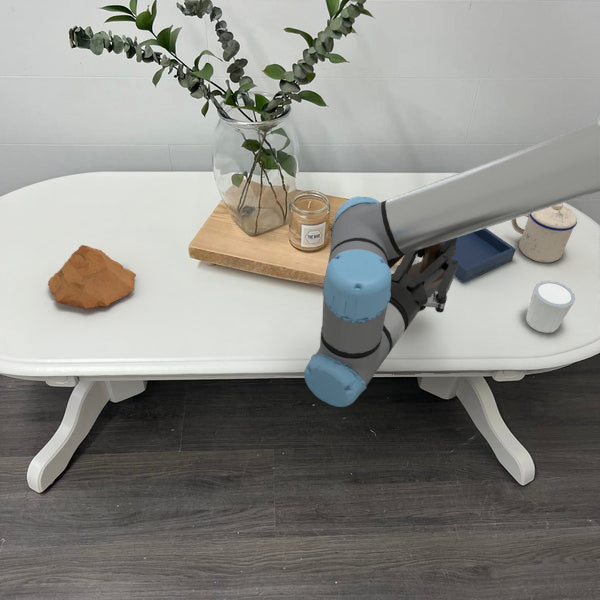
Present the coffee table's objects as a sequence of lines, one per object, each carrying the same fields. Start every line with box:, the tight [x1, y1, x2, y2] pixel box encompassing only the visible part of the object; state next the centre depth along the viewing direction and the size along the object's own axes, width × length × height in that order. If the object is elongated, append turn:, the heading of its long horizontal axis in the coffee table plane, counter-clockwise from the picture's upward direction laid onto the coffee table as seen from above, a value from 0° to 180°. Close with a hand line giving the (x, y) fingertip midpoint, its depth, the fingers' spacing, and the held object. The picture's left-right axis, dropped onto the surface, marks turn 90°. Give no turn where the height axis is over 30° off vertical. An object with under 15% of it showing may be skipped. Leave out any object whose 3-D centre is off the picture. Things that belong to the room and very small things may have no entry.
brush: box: [407, 242, 451, 298], centre depth 92 cm, size 5×7×14 cm
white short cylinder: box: [525, 280, 576, 334], centre depth 101 cm, size 7×7×7 cm
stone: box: [47, 244, 137, 310], centre depth 106 cm, size 15×15×10 cm
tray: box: [442, 228, 517, 284], centre depth 118 cm, size 18×14×3 cm
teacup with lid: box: [511, 203, 578, 263], centre depth 116 cm, size 12×9×12 cm
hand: (445, 234), depth 95 cm, fingers closed on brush, 3 cm apart
